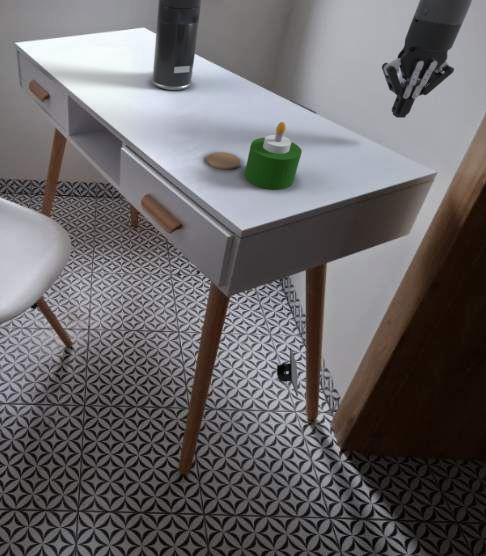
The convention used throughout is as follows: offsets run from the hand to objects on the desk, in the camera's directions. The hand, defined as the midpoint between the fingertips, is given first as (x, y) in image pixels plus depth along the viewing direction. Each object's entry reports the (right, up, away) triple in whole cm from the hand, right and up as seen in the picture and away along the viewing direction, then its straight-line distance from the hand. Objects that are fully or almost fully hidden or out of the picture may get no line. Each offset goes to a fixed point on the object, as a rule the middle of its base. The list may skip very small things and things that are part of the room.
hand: (398, 115), depth 97 cm
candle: (-27, -14, -8) cm, 31 cm away
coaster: (-34, -10, -4) cm, 36 cm away
